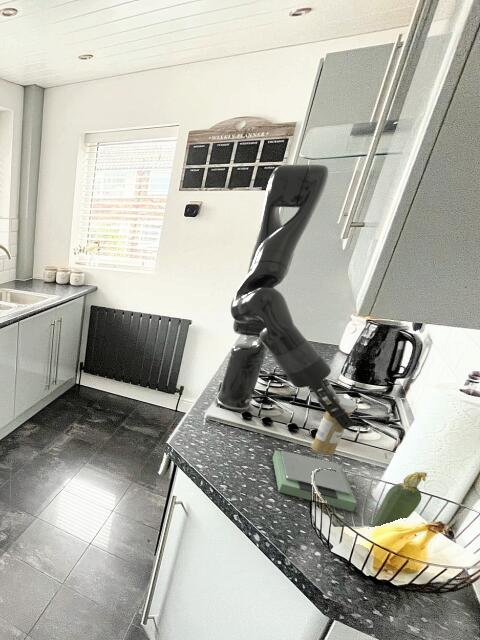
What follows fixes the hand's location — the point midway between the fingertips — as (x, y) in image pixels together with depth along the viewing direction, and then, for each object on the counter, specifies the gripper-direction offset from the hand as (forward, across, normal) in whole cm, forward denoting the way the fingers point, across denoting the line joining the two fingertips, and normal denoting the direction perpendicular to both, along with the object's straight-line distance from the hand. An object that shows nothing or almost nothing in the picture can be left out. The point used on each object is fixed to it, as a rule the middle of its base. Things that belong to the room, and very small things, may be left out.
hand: (346, 421), depth 96 cm
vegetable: (+17, -20, +8) cm, 28 cm away
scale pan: (+10, +1, +12) cm, 16 cm away
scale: (+12, 0, +14) cm, 18 cm away
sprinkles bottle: (+5, 0, +8) cm, 9 cm away
